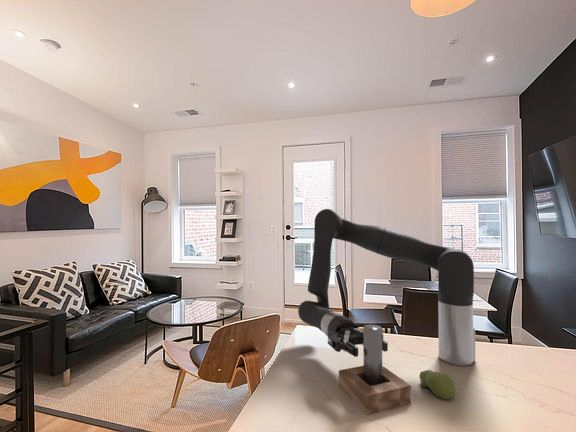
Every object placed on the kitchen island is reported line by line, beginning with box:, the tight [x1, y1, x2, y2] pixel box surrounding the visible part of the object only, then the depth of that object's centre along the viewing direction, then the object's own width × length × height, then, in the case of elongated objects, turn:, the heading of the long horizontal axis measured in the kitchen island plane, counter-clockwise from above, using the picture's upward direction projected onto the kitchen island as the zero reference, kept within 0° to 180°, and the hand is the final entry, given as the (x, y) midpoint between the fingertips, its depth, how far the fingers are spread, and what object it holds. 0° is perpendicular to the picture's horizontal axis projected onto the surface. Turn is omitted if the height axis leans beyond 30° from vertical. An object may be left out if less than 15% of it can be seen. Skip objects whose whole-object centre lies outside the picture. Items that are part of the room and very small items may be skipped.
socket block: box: [338, 365, 412, 415], centre depth 74 cm, size 12×12×4 cm
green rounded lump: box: [419, 369, 457, 400], centre depth 76 cm, size 6×5×10 cm
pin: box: [362, 324, 383, 386], centre depth 74 cm, size 4×4×16 cm
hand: (372, 350), depth 75 cm, fingers open, 8 cm apart
